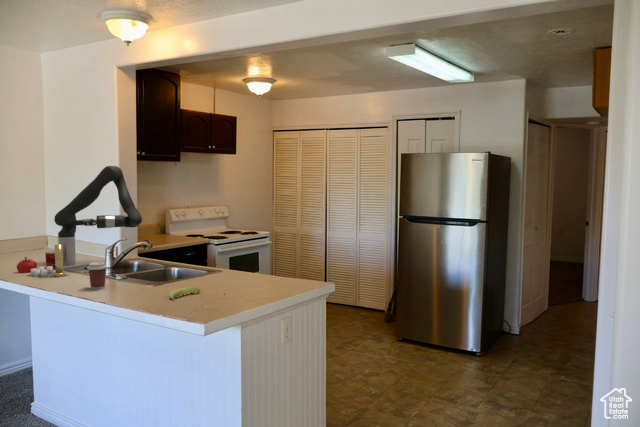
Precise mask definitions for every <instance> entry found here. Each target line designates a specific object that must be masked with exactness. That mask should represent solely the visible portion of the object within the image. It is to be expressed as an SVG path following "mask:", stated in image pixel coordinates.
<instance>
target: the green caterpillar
mask: <svg viewBox="0 0 640 427" xmlns="http://www.w3.org/2000/svg"><path fill="white" fill-rule="evenodd" d="M195 292H199V293H200V292H201V288H199V287H197V286H188V287H186V286H185V287H181V288H176V289H174V290H172V291H171V292H170V293H169V294H168V298H169V299H170V298H171V299H172V300H174V299H173V298H175V297H177V296H180V295H184V294H189V293H195ZM171 299H170V300H171ZM175 299H176V298H175ZM174 301H175V300H174Z"/></svg>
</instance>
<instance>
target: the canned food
mask: <svg viewBox="0 0 640 427" xmlns="http://www.w3.org/2000/svg"><path fill="white" fill-rule="evenodd" d="M48 266H52V267H53V271H56V268H55V250H47V251H45V268H46V267H48Z"/></svg>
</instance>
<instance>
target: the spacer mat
mask: <svg viewBox="0 0 640 427" xmlns="http://www.w3.org/2000/svg"><path fill="white" fill-rule="evenodd" d="M54 273H55V272H54V270H53V267H52V266H48V267H46V266H37V269H36V268H34V269H31V272H30V274H27V275H25V277H32V278H33V277H34V278H40V279H42V278H48V277H49V276H53V275H54ZM49 278H50V277H49Z"/></svg>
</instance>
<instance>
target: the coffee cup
mask: <svg viewBox="0 0 640 427" xmlns="http://www.w3.org/2000/svg"><path fill="white" fill-rule="evenodd" d="M86 269H87V270H88V275H89V284H90V285H89V286H90V289H92V290H98V289H104V288H105V287H106V272H107V270H106V269H108V266H107V264H106V263H105V262H103V261H96V262H95V261H94V262H90V263H89V265H88V266H87V267H86Z"/></svg>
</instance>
